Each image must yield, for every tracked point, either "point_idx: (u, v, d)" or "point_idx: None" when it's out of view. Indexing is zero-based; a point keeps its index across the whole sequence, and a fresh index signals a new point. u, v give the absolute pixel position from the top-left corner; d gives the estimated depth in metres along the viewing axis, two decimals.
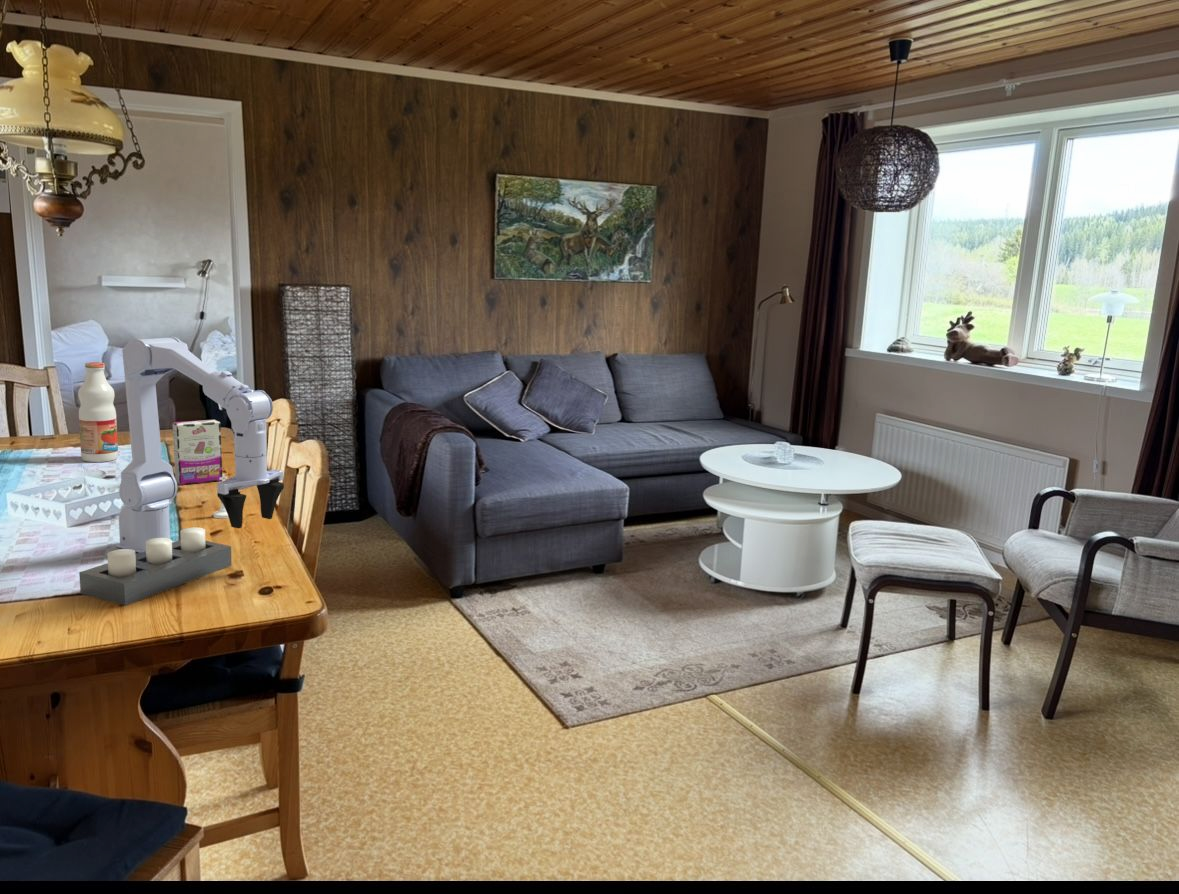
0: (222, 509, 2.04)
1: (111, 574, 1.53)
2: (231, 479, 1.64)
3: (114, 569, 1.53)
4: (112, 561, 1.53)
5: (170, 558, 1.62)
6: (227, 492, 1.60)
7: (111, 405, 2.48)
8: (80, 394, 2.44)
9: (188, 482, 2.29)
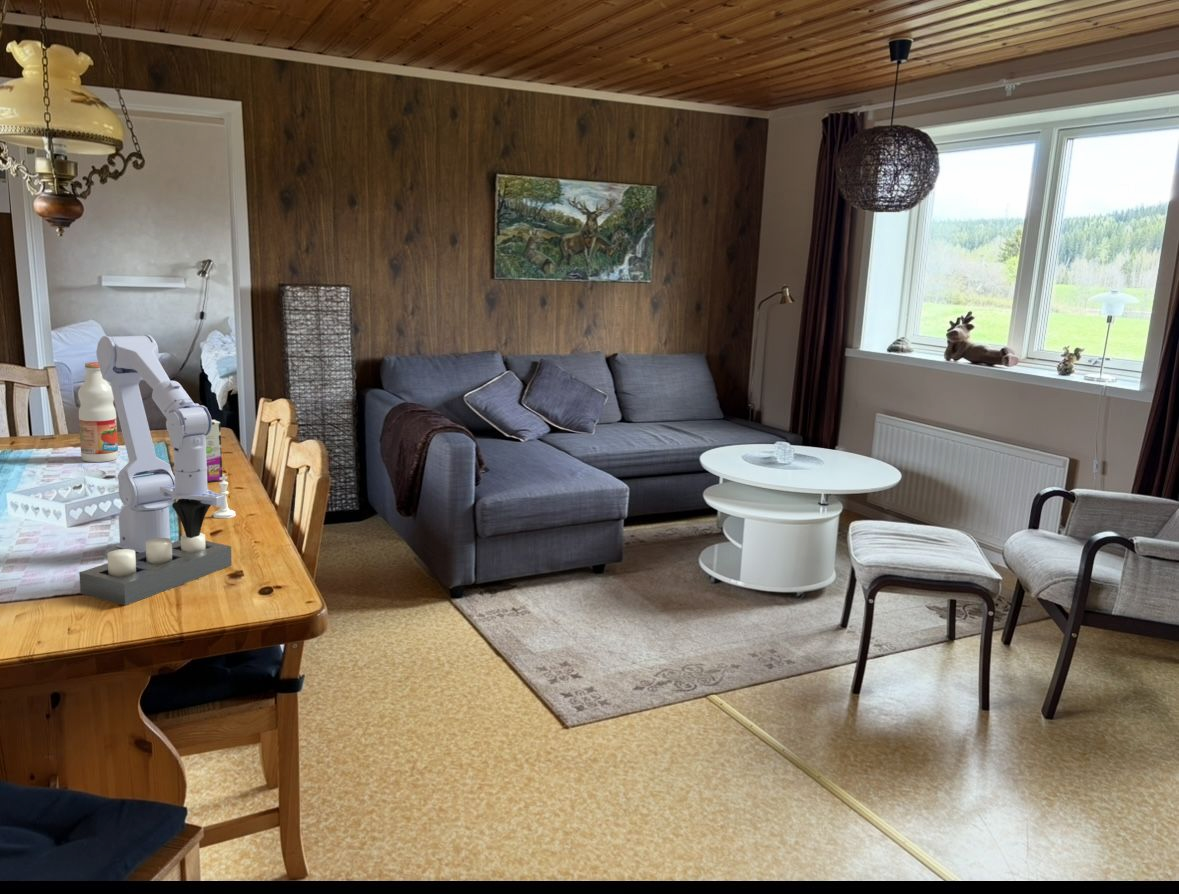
0: (222, 509, 2.04)
1: (111, 574, 1.53)
2: None
3: (114, 569, 1.53)
4: (112, 561, 1.53)
5: (170, 558, 1.62)
6: (162, 495, 1.69)
7: (111, 405, 2.48)
8: (80, 394, 2.44)
9: None
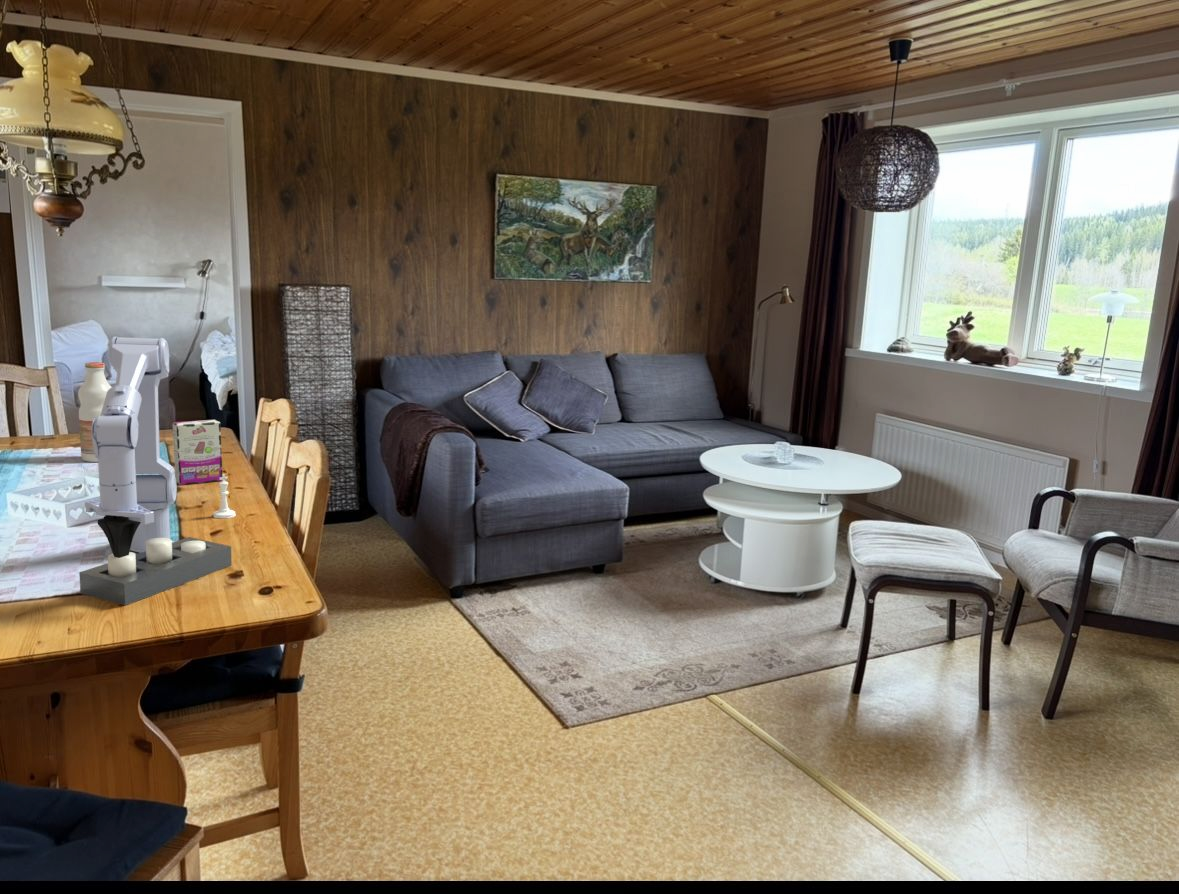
0: (222, 509, 2.04)
1: None
2: None
3: (114, 572, 1.53)
4: (112, 564, 1.53)
5: (170, 558, 1.62)
6: (88, 510, 1.55)
7: None
8: (80, 394, 2.44)
9: (188, 482, 2.29)
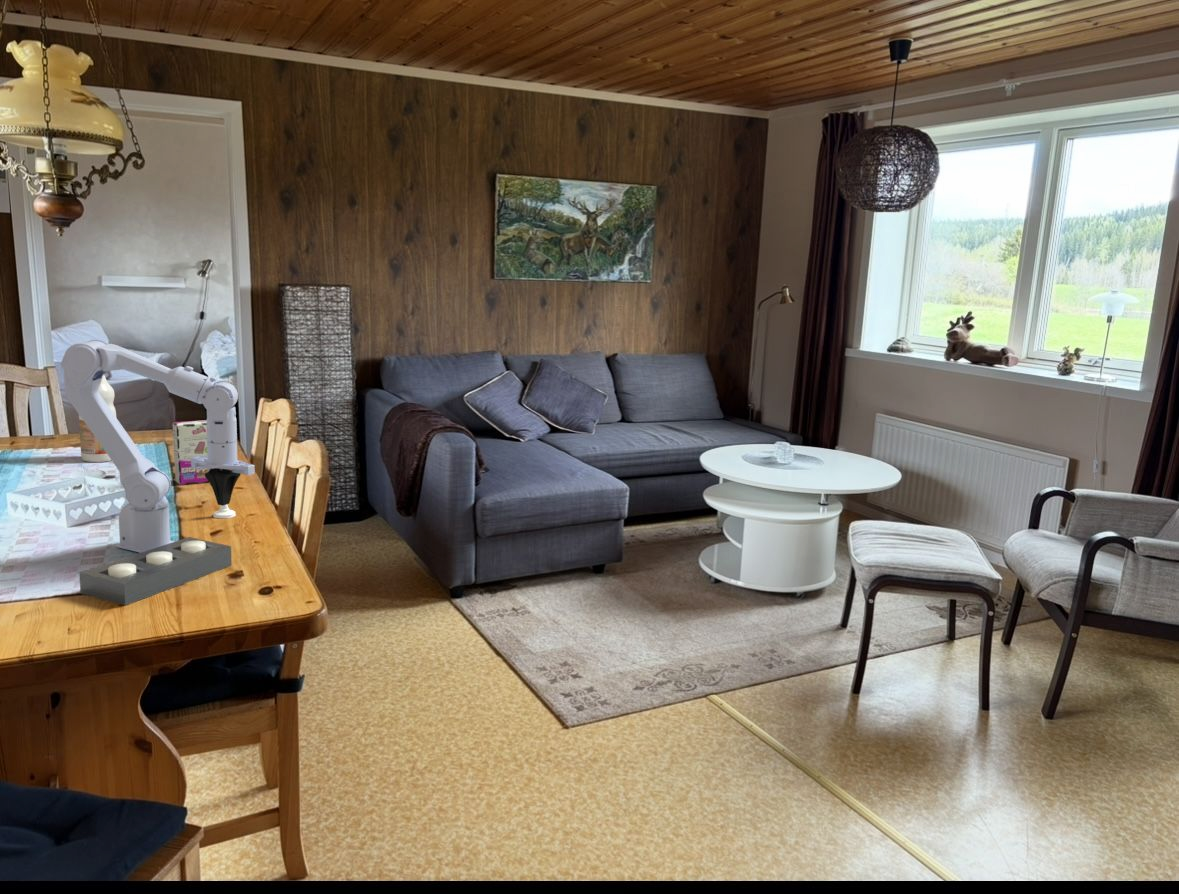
0: (222, 509, 2.04)
1: None
2: None
3: None
4: (113, 576, 1.53)
5: None
6: (193, 465, 1.81)
7: (111, 405, 2.48)
8: None
9: (188, 482, 2.29)
